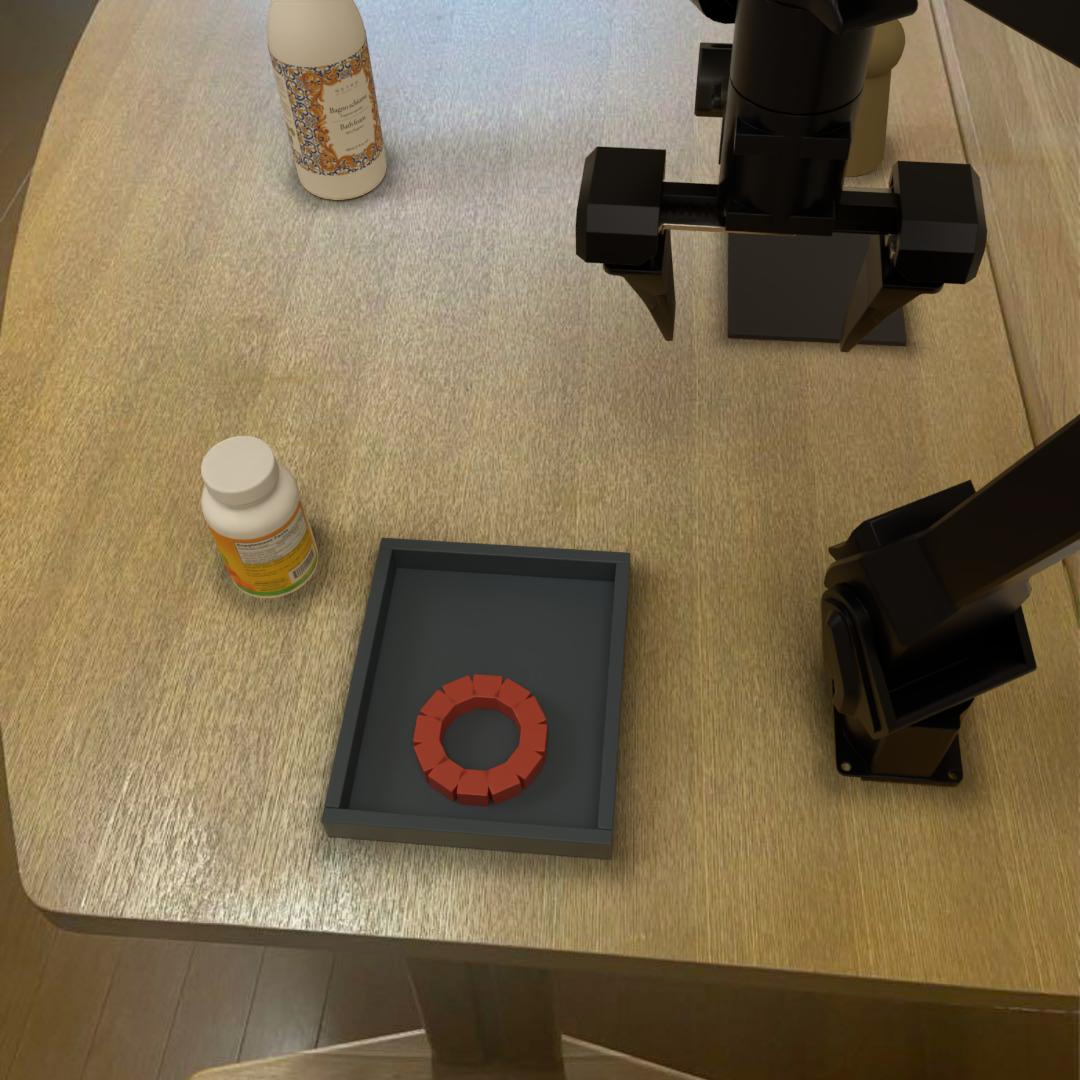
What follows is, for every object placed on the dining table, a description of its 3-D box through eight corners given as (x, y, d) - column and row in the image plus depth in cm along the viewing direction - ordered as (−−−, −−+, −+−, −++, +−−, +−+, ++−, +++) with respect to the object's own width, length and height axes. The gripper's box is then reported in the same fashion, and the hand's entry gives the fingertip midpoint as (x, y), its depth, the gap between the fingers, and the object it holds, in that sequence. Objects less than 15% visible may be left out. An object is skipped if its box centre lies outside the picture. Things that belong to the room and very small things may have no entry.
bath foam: (327, 215, 91) (271, -43, 74) (283, 170, 94) (220, -86, 78) (404, 179, 93) (366, -78, 77) (358, 136, 96) (313, -119, 80)
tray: (611, 863, 60) (612, 845, 58) (329, 840, 62) (320, 821, 59) (629, 576, 70) (630, 552, 68) (387, 561, 72) (381, 536, 70)
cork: (882, 180, 91) (915, 48, 82) (802, 172, 92) (826, 40, 83) (885, 132, 94) (916, 0, 85) (808, 125, 95) (831, -7, 86)
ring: (540, 811, 62) (540, 800, 60) (407, 800, 62) (404, 789, 61) (552, 691, 66) (552, 679, 64) (427, 682, 66) (424, 670, 65)
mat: (905, 346, 81) (907, 342, 80) (727, 338, 82) (728, 333, 81) (892, 229, 88) (893, 225, 87) (728, 223, 89) (729, 218, 88)
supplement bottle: (227, 538, 73) (184, 434, 65) (315, 521, 74) (282, 417, 66) (233, 610, 70) (188, 511, 62) (324, 592, 70) (291, 492, 63)
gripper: (1002, -17, 55) (925, 251, 67) (598, -30, 57) (597, 232, 69) (1030, 129, 48) (939, 395, 61) (572, 109, 50) (576, 370, 63)
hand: (756, 340), depth 63 cm, fingers open, 9 cm apart
